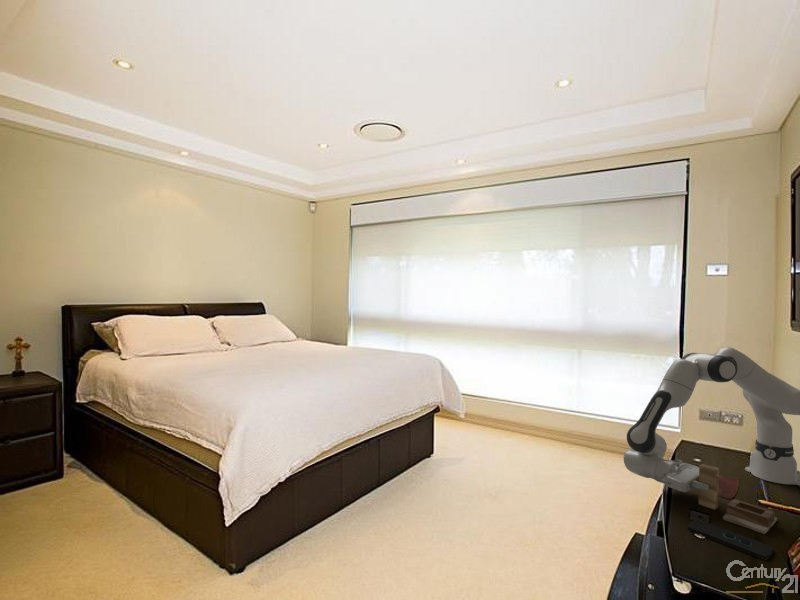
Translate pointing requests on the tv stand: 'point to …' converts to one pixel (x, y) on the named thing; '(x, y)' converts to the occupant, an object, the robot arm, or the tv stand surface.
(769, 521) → the wooden plank holder
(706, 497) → the oak plank
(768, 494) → the tv stand surface
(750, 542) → the smart home device
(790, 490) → the tv stand surface
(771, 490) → the tv stand surface
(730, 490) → the reddish wooden board
